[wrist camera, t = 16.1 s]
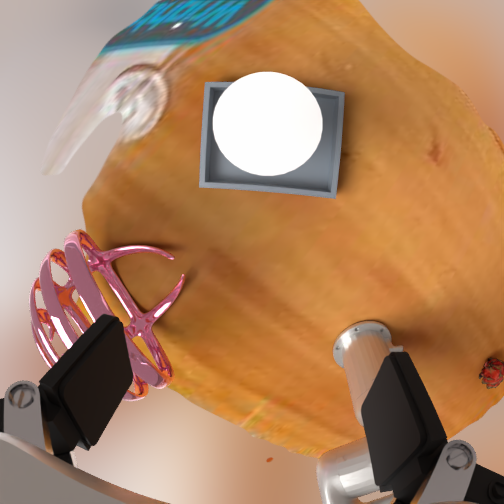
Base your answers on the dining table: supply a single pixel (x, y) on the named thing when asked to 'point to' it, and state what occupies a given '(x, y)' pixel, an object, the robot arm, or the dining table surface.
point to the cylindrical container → (267, 123)
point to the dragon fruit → (492, 373)
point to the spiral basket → (98, 307)
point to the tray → (294, 182)
